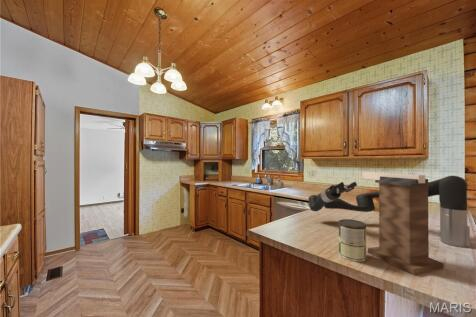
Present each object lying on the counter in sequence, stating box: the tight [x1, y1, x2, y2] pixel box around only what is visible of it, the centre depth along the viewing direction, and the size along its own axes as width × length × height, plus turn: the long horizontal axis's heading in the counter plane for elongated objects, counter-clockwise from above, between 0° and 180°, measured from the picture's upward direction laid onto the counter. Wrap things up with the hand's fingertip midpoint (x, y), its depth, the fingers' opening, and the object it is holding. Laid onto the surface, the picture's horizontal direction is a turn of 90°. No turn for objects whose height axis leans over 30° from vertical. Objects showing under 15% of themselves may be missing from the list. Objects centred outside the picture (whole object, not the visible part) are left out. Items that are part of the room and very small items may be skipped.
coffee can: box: [338, 218, 367, 263], centre depth 86 cm, size 10×10×14 cm
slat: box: [362, 171, 426, 183], centre depth 88 cm, size 24×4×3 cm, turn 16°
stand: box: [367, 177, 445, 276], centre depth 83 cm, size 18×16×34 cm
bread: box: [365, 189, 379, 213], centre depth 174 cm, size 25×12×15 cm, turn 162°
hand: (349, 183), depth 108 cm, fingers open, 8 cm apart
